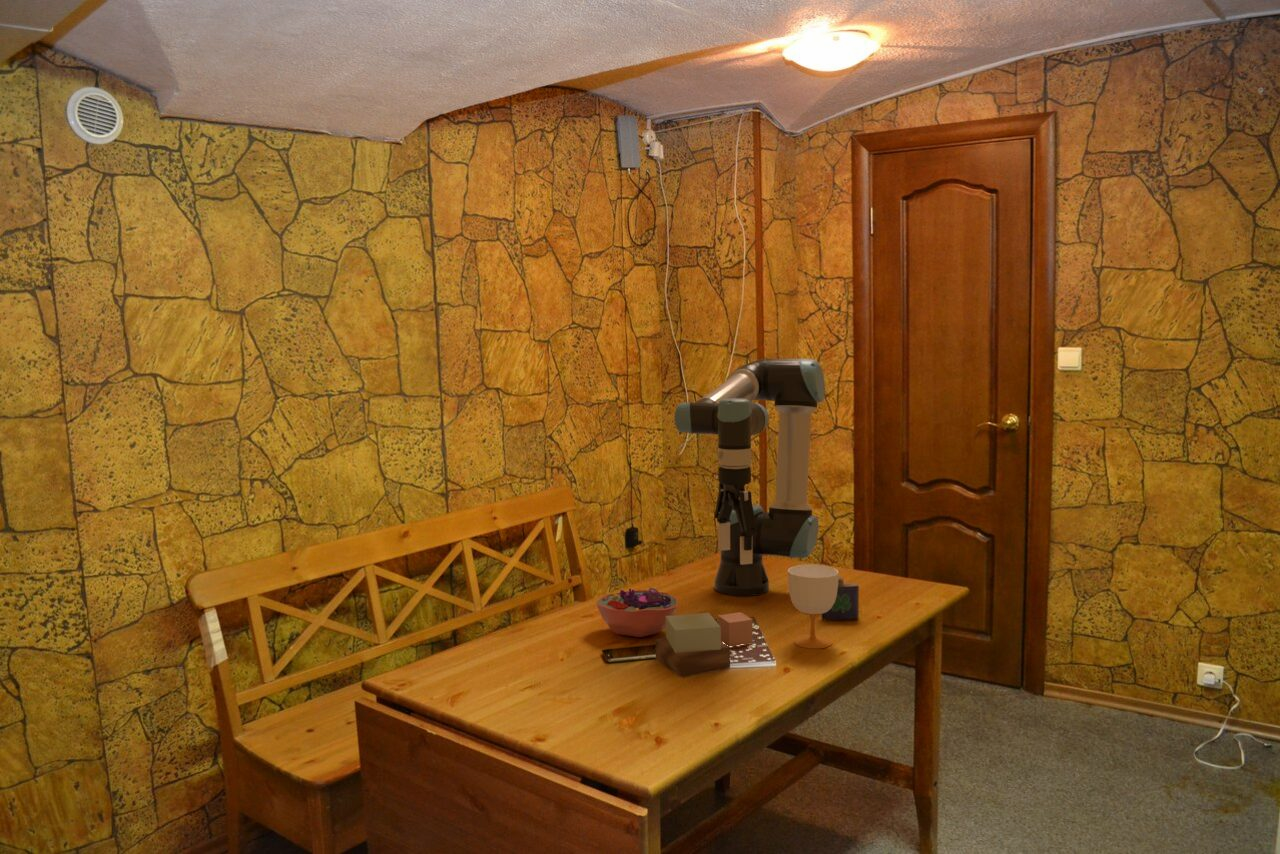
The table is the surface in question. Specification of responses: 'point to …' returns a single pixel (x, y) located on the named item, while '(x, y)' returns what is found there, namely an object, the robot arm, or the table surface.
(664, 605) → the cell model
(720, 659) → the tower base
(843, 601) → the flask
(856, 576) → the table surface
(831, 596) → the cup
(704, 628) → the tower top
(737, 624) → the block
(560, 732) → the table surface
